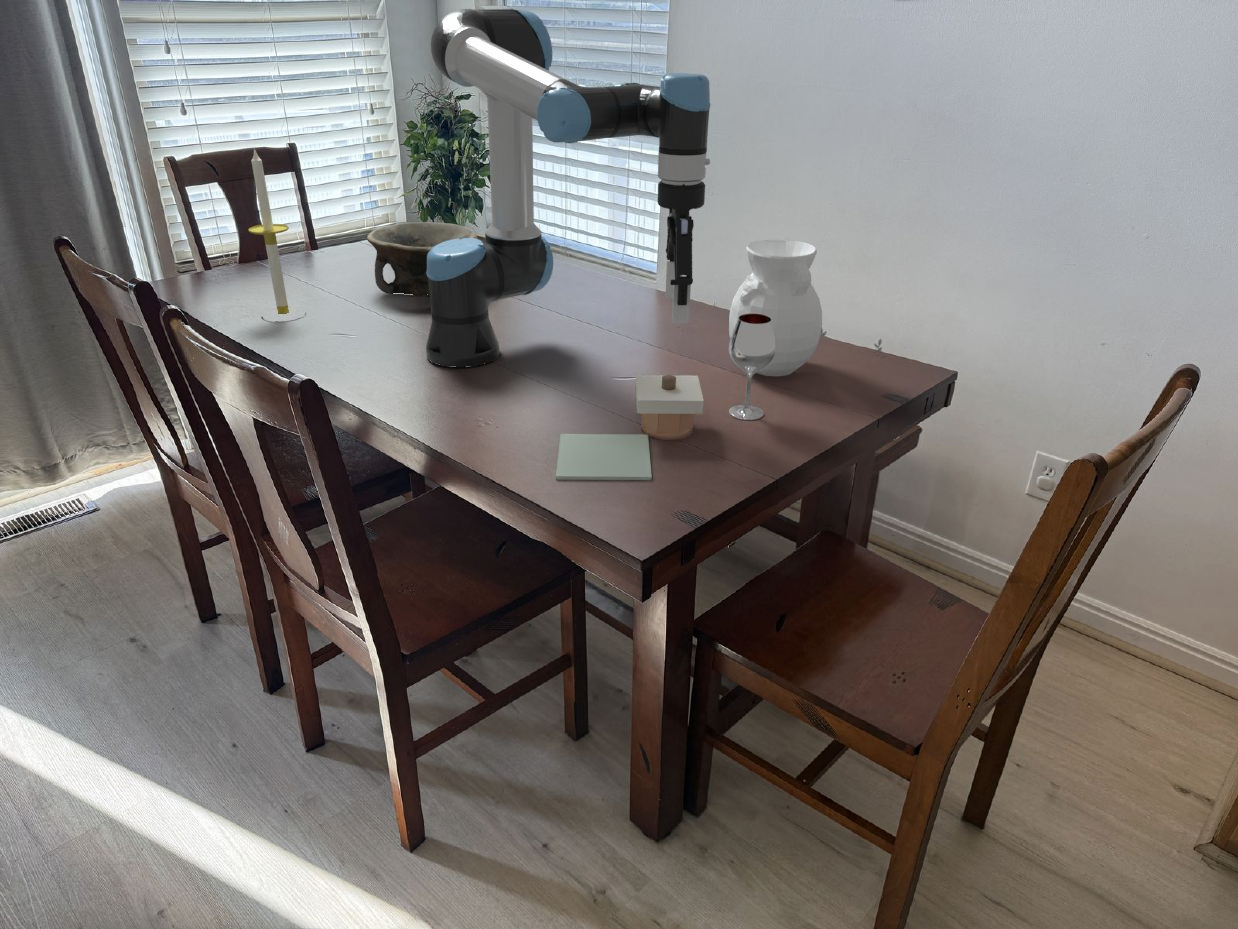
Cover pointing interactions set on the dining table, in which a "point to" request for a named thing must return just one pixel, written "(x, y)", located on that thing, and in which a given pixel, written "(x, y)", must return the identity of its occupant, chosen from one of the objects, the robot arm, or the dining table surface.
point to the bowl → (410, 253)
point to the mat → (603, 457)
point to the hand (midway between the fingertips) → (676, 310)
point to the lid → (668, 394)
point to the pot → (667, 425)
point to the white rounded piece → (782, 301)
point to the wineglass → (751, 355)
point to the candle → (269, 235)
